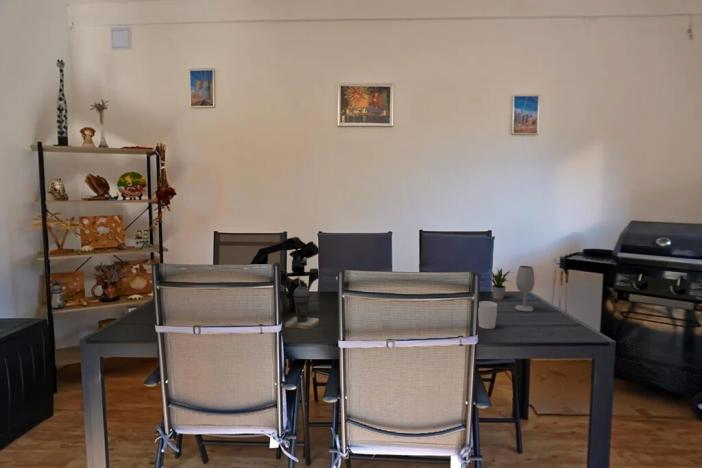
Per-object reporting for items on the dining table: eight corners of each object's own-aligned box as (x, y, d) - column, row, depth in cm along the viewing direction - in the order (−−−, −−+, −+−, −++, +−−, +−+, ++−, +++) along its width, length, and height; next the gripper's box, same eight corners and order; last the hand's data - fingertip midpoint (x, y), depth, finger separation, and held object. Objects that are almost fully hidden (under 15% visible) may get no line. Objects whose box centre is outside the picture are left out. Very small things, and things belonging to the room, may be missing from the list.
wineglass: (514, 311, 212) (515, 267, 209) (514, 306, 220) (516, 264, 217) (533, 313, 209) (535, 269, 206) (533, 307, 217) (535, 265, 214)
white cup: (486, 330, 185) (487, 307, 184) (473, 325, 192) (474, 302, 191) (500, 327, 189) (501, 304, 188) (487, 322, 196) (487, 300, 195)
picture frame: (285, 326, 192) (284, 323, 192) (294, 319, 201) (294, 316, 201) (311, 329, 189) (311, 325, 188) (319, 321, 198) (319, 318, 198)
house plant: (518, 302, 227) (519, 270, 225) (491, 302, 227) (492, 270, 225) (508, 294, 241) (510, 265, 239) (483, 295, 241) (484, 265, 239)
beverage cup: (307, 323, 190) (306, 278, 188) (291, 322, 192) (290, 277, 190) (312, 318, 198) (311, 274, 195) (297, 317, 199) (296, 273, 197)
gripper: (276, 253, 204) (275, 283, 195) (317, 251, 205) (317, 281, 196) (279, 265, 213) (278, 294, 204) (318, 264, 214) (319, 292, 205)
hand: (298, 290), depth 202 cm, fingers open, 9 cm apart
